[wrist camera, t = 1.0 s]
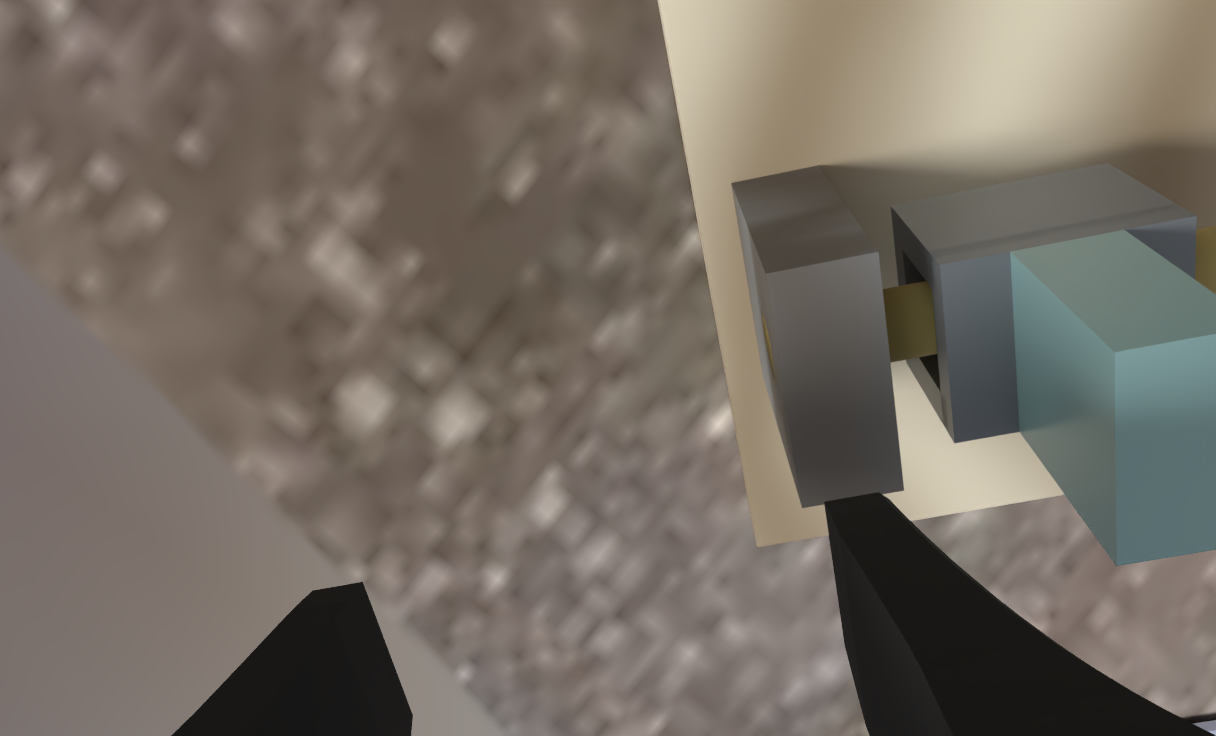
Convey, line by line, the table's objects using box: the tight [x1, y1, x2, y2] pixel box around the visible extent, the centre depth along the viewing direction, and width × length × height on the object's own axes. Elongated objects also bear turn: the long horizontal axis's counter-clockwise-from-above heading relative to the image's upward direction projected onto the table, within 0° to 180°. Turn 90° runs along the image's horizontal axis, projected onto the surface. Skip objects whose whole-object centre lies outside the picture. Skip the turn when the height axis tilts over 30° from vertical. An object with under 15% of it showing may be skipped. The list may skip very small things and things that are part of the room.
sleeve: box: [890, 163, 1216, 566], centre depth 16 cm, size 4×3×6 cm
